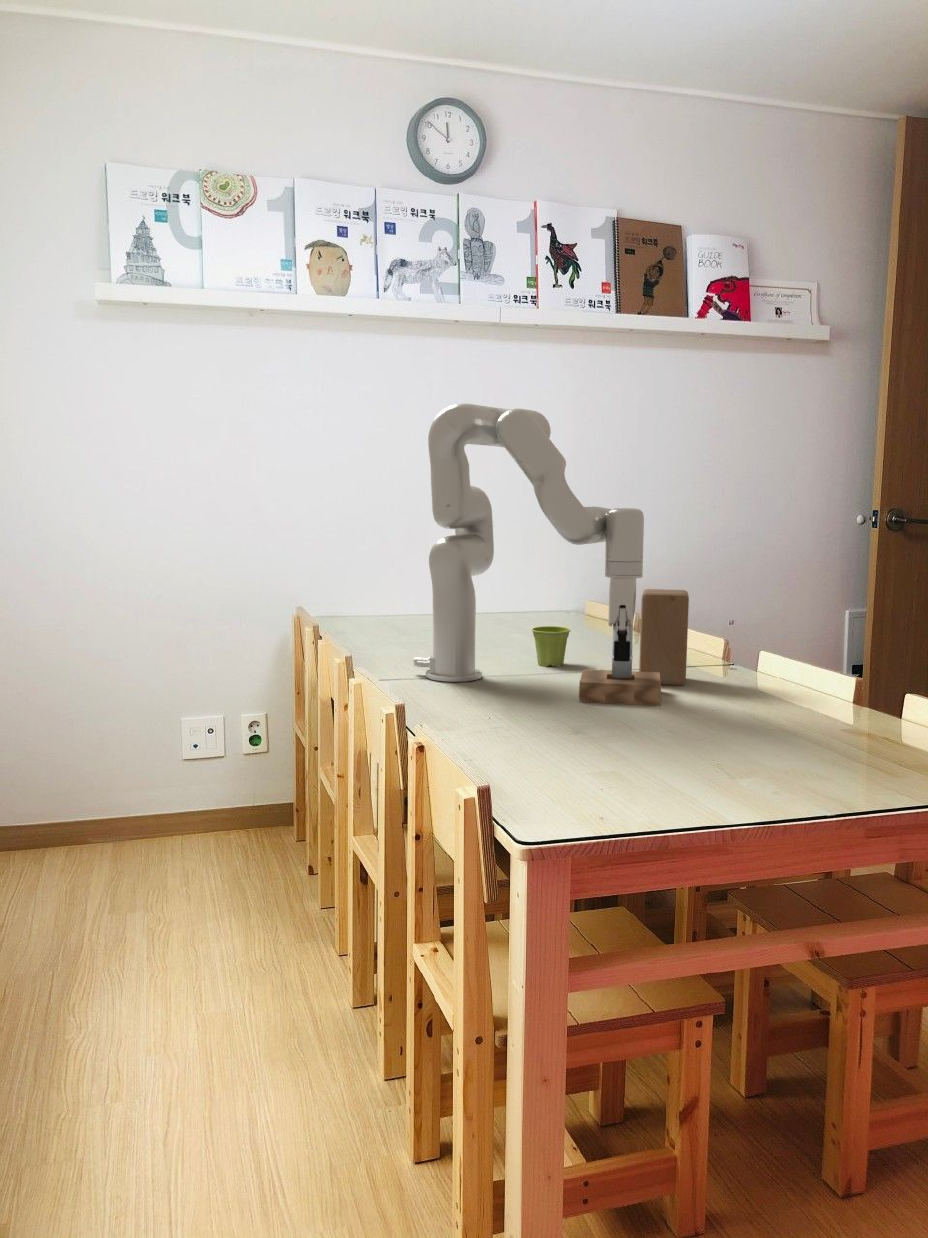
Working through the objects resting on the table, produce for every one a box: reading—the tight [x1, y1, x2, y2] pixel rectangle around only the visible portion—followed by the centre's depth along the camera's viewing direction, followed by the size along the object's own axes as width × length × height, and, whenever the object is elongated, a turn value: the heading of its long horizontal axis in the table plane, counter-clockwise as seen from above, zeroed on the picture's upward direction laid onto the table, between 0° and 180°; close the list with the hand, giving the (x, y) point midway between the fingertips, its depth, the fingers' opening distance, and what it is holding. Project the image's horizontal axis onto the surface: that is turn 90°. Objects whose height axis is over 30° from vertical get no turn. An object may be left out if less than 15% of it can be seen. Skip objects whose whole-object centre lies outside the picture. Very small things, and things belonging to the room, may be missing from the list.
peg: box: [611, 617, 634, 678], centre depth 207 cm, size 4×4×12 cm
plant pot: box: [530, 625, 572, 667], centre depth 243 cm, size 9×9×9 cm
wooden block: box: [638, 588, 690, 686], centre depth 223 cm, size 10×10×20 cm
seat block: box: [578, 669, 662, 706], centre depth 208 cm, size 16×14×4 cm
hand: (621, 658), depth 207 cm, fingers closed on peg, 4 cm apart
